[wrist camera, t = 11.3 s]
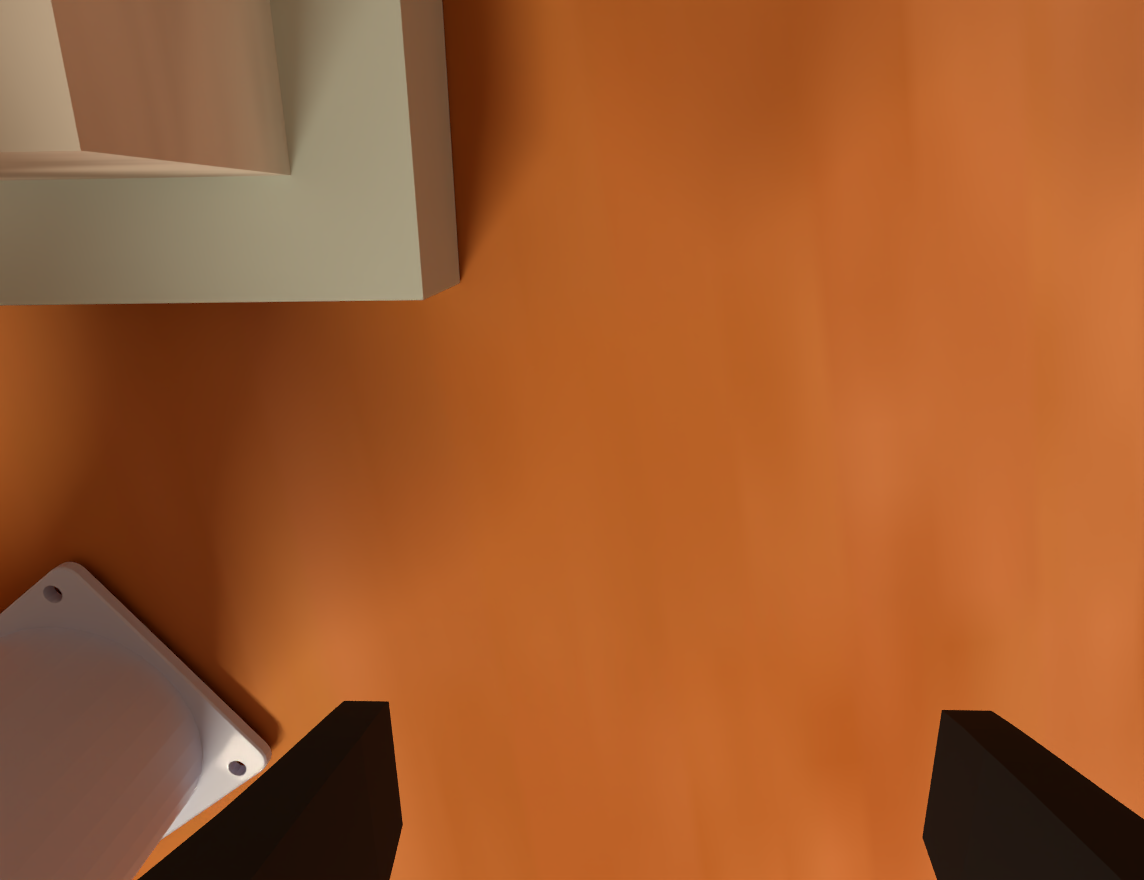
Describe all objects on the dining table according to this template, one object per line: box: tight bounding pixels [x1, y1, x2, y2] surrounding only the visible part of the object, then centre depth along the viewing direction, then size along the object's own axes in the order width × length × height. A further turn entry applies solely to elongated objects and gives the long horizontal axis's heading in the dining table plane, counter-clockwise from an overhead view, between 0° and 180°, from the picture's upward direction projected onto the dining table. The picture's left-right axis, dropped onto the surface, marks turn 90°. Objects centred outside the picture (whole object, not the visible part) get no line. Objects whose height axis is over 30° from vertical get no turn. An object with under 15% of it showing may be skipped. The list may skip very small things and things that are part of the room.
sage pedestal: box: [0, 0, 460, 305], centre depth 14 cm, size 10×10×4 cm
